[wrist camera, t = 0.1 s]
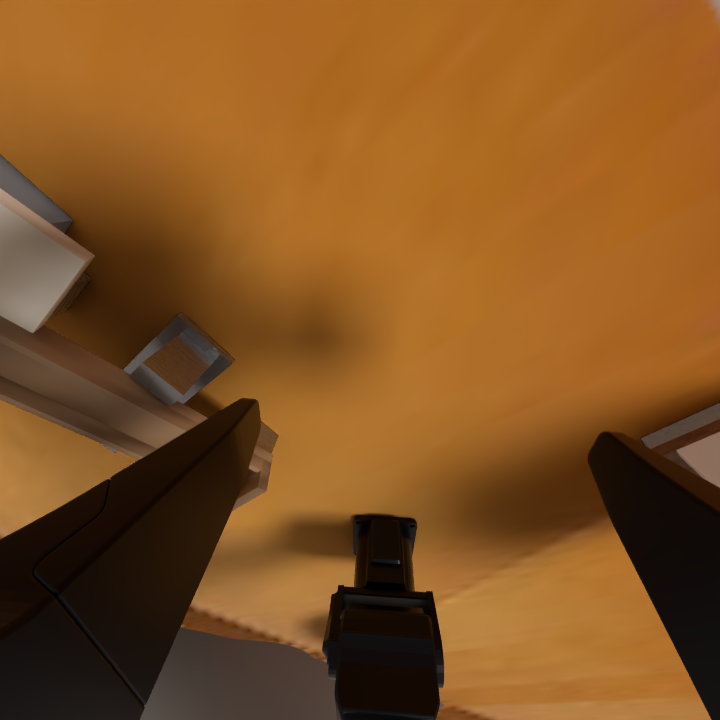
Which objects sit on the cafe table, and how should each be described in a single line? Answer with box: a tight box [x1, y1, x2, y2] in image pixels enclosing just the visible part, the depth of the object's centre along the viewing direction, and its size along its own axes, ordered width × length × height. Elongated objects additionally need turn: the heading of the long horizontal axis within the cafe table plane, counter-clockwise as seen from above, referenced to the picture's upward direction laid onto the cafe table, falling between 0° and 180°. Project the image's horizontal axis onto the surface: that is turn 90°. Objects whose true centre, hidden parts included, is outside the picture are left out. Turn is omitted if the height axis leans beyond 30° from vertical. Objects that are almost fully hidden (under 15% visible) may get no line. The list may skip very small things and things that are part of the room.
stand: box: [48, 272, 278, 453], centre depth 24 cm, size 20×10×5 cm, turn 39°
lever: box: [0, 188, 273, 511], centre depth 20 cm, size 20×11×4 cm, turn 39°
